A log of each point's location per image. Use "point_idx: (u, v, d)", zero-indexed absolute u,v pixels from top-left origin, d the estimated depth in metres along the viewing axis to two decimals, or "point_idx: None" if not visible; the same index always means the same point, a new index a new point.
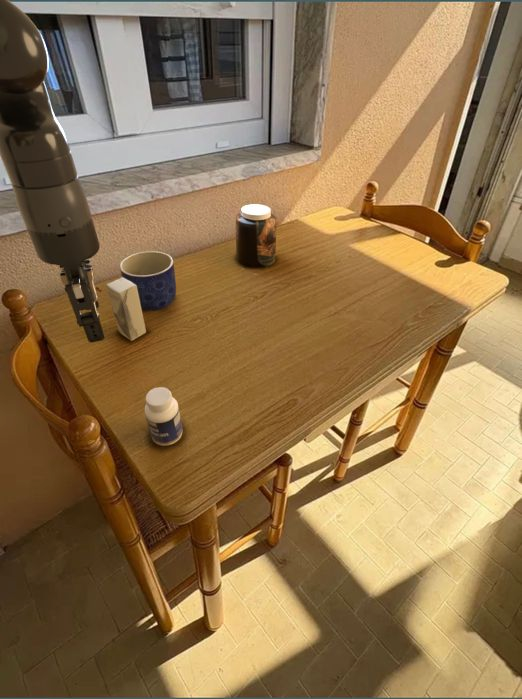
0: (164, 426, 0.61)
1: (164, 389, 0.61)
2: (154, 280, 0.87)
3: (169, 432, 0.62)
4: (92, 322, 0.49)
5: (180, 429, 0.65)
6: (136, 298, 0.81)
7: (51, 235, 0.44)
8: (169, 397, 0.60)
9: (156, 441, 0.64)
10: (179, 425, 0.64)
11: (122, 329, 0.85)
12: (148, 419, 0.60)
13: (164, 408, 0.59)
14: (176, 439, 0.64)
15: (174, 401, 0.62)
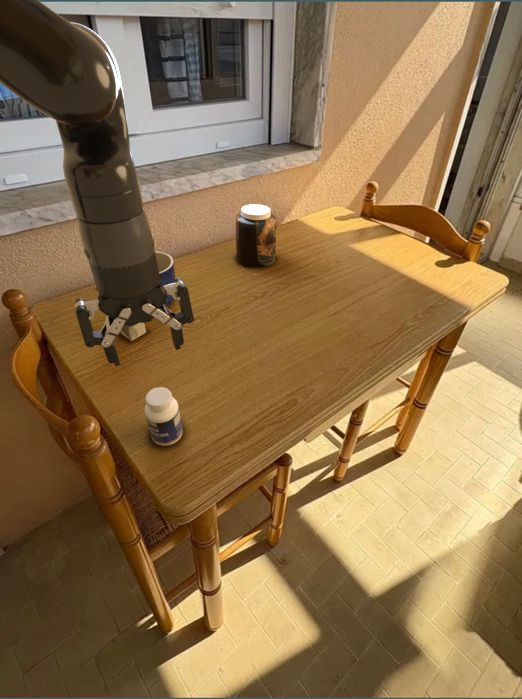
0: (164, 426, 0.61)
1: (164, 389, 0.61)
2: None
3: (169, 432, 0.62)
4: None
5: (180, 429, 0.65)
6: None
7: None
8: (169, 397, 0.60)
9: (156, 441, 0.64)
10: (179, 425, 0.64)
11: (122, 329, 0.85)
12: (148, 419, 0.60)
13: (164, 408, 0.59)
14: (176, 439, 0.64)
15: (174, 401, 0.62)
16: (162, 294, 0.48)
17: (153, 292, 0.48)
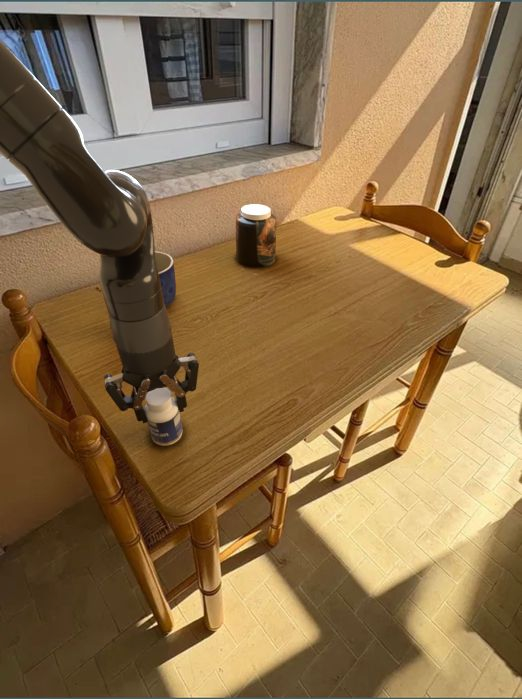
0: (164, 426, 0.61)
1: (164, 389, 0.61)
2: None
3: (169, 432, 0.62)
4: None
5: (180, 429, 0.65)
6: None
7: None
8: (169, 397, 0.60)
9: (156, 441, 0.64)
10: (179, 425, 0.64)
11: None
12: (148, 419, 0.60)
13: (164, 408, 0.59)
14: (176, 439, 0.64)
15: (174, 401, 0.62)
16: (177, 365, 0.56)
17: (170, 363, 0.55)
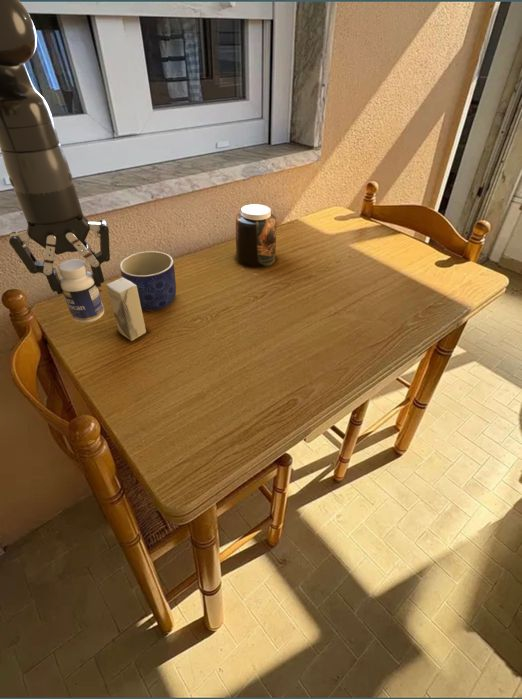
0: (78, 296, 0.61)
1: (79, 260, 0.62)
2: (154, 279, 0.87)
3: (85, 306, 0.63)
4: None
5: (99, 307, 0.65)
6: (136, 298, 0.81)
7: None
8: (82, 265, 0.60)
9: (75, 317, 0.64)
10: (97, 302, 0.64)
11: (122, 329, 0.85)
12: (62, 289, 0.61)
13: (77, 275, 0.60)
14: (95, 317, 0.65)
15: (90, 274, 0.63)
16: (84, 226, 0.57)
17: (77, 222, 0.56)
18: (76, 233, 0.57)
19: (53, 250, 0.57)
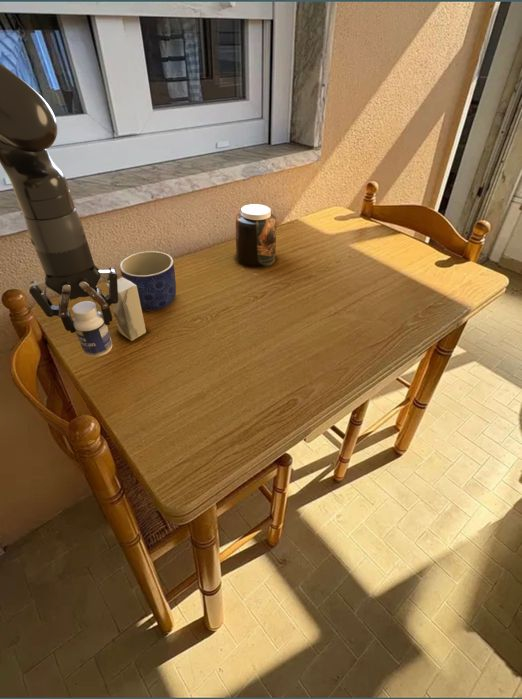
0: (90, 335, 0.68)
1: (90, 302, 0.68)
2: (154, 279, 0.87)
3: (95, 342, 0.69)
4: None
5: (108, 342, 0.72)
6: (136, 298, 0.81)
7: None
8: (93, 308, 0.67)
9: (86, 352, 0.71)
10: (106, 338, 0.71)
11: (122, 329, 0.85)
12: (75, 328, 0.68)
13: (88, 317, 0.67)
14: (104, 351, 0.72)
15: (100, 314, 0.69)
16: (95, 275, 0.63)
17: (89, 272, 0.63)
18: (88, 281, 0.64)
19: (68, 297, 0.63)
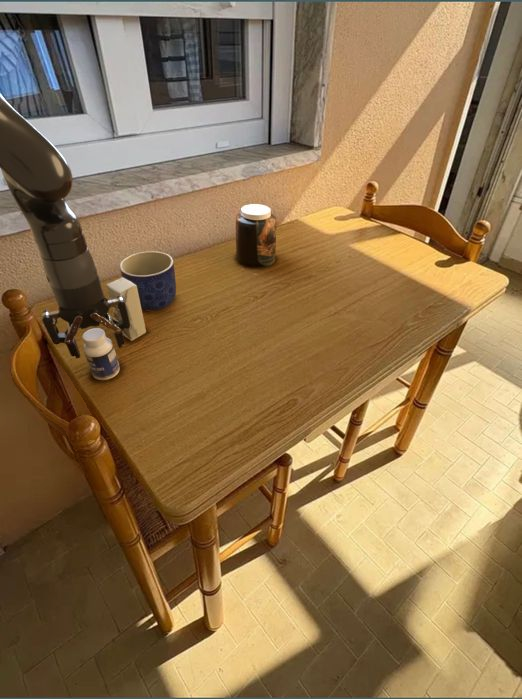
0: (99, 360, 0.72)
1: (99, 329, 0.72)
2: (154, 279, 0.87)
3: (104, 367, 0.74)
4: None
5: (116, 366, 0.76)
6: (136, 298, 0.81)
7: None
8: (102, 335, 0.71)
9: (95, 376, 0.75)
10: (114, 362, 0.75)
11: None
12: (85, 354, 0.72)
13: (98, 344, 0.71)
14: (112, 375, 0.76)
15: (109, 340, 0.73)
16: (105, 306, 0.68)
17: (99, 304, 0.67)
18: (99, 312, 0.68)
19: (77, 327, 0.67)
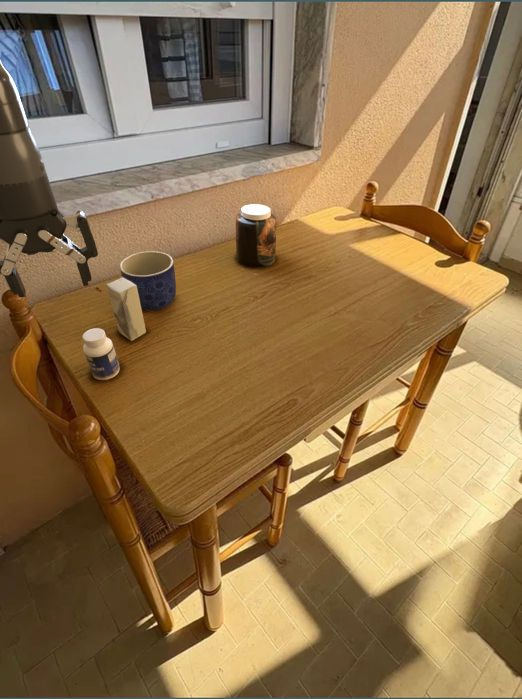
0: (99, 360, 0.72)
1: (99, 329, 0.72)
2: (154, 279, 0.87)
3: (104, 367, 0.74)
4: None
5: (116, 366, 0.76)
6: (136, 298, 0.81)
7: None
8: (102, 335, 0.71)
9: (95, 376, 0.75)
10: (114, 362, 0.75)
11: (122, 329, 0.85)
12: (85, 354, 0.72)
13: (98, 344, 0.71)
14: (112, 375, 0.76)
15: (109, 340, 0.73)
16: (60, 223, 0.50)
17: (50, 220, 0.49)
18: (50, 231, 0.50)
19: (20, 250, 0.50)
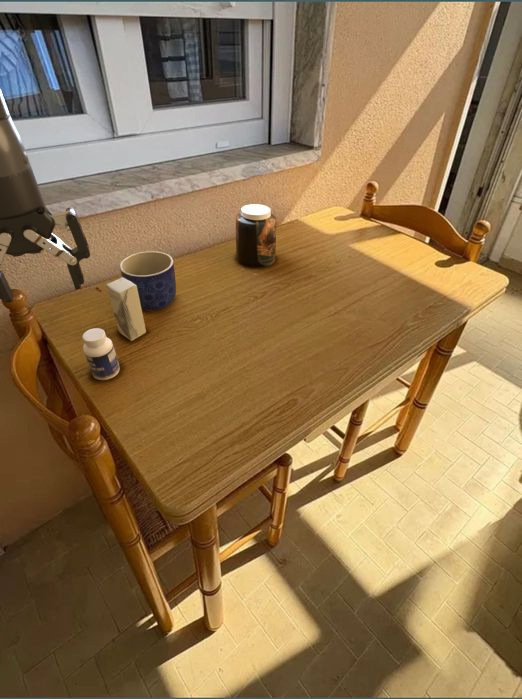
0: (99, 360, 0.72)
1: (99, 329, 0.72)
2: (154, 279, 0.87)
3: (104, 367, 0.74)
4: None
5: (116, 366, 0.76)
6: (136, 298, 0.81)
7: None
8: (102, 335, 0.71)
9: (95, 376, 0.75)
10: (114, 362, 0.75)
11: (122, 329, 0.85)
12: (85, 354, 0.72)
13: (98, 344, 0.71)
14: (112, 375, 0.76)
15: (109, 340, 0.73)
16: (47, 221, 0.46)
17: (36, 218, 0.45)
18: (37, 230, 0.46)
19: (4, 251, 0.45)
